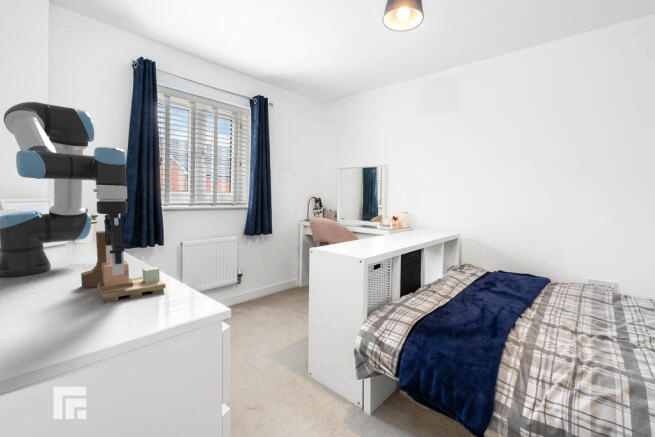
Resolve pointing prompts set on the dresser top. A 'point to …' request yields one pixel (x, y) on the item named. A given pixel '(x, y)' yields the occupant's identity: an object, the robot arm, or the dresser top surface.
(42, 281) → the dresser top surface
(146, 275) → the pale green cube
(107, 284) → the pink slab on base
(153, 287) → the wooden pallet
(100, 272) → the wooden block
